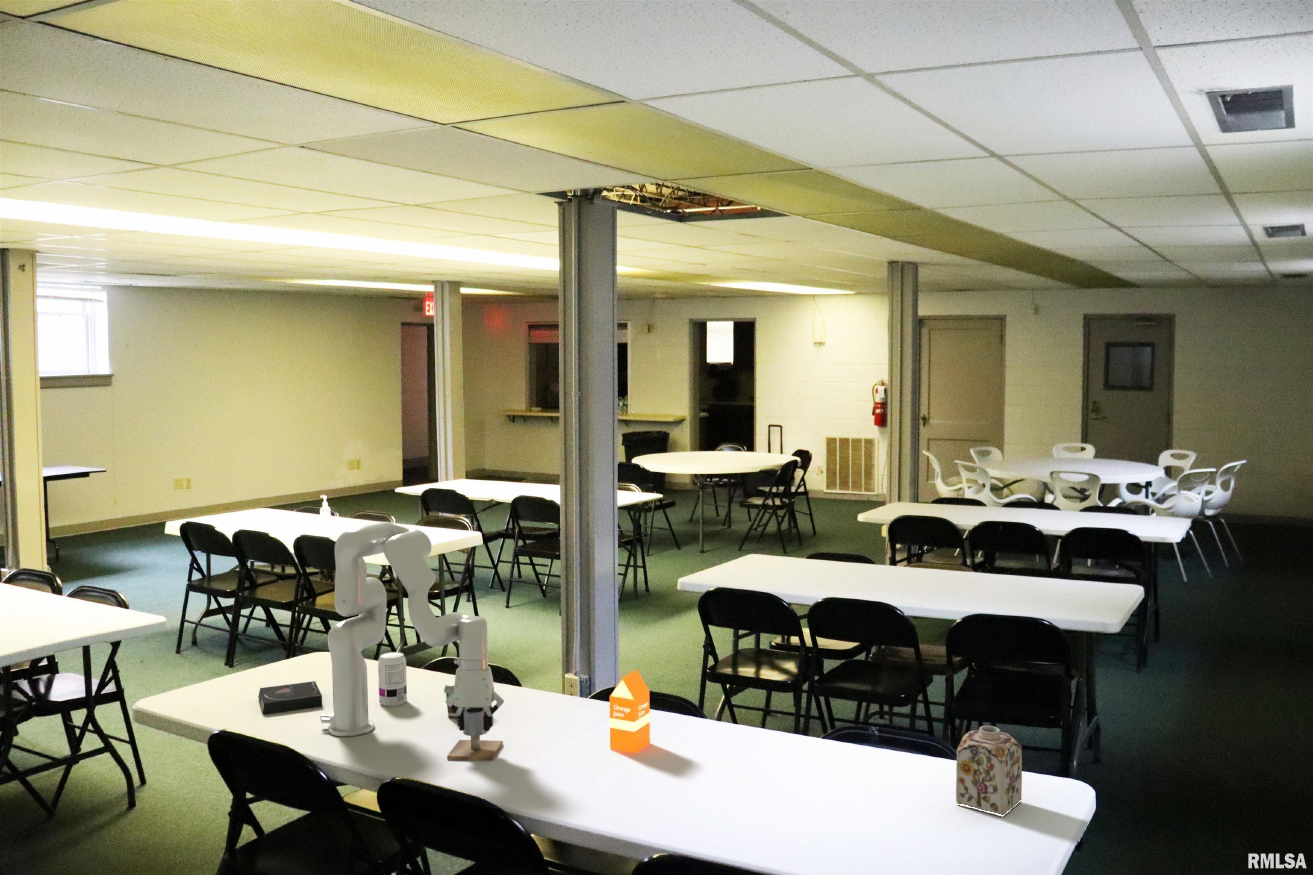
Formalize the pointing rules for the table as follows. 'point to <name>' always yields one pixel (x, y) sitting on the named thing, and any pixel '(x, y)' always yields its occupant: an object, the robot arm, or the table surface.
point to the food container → (449, 691)
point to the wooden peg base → (475, 749)
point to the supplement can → (392, 679)
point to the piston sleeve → (474, 721)
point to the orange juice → (630, 714)
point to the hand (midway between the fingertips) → (475, 728)
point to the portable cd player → (290, 697)
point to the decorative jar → (989, 770)
